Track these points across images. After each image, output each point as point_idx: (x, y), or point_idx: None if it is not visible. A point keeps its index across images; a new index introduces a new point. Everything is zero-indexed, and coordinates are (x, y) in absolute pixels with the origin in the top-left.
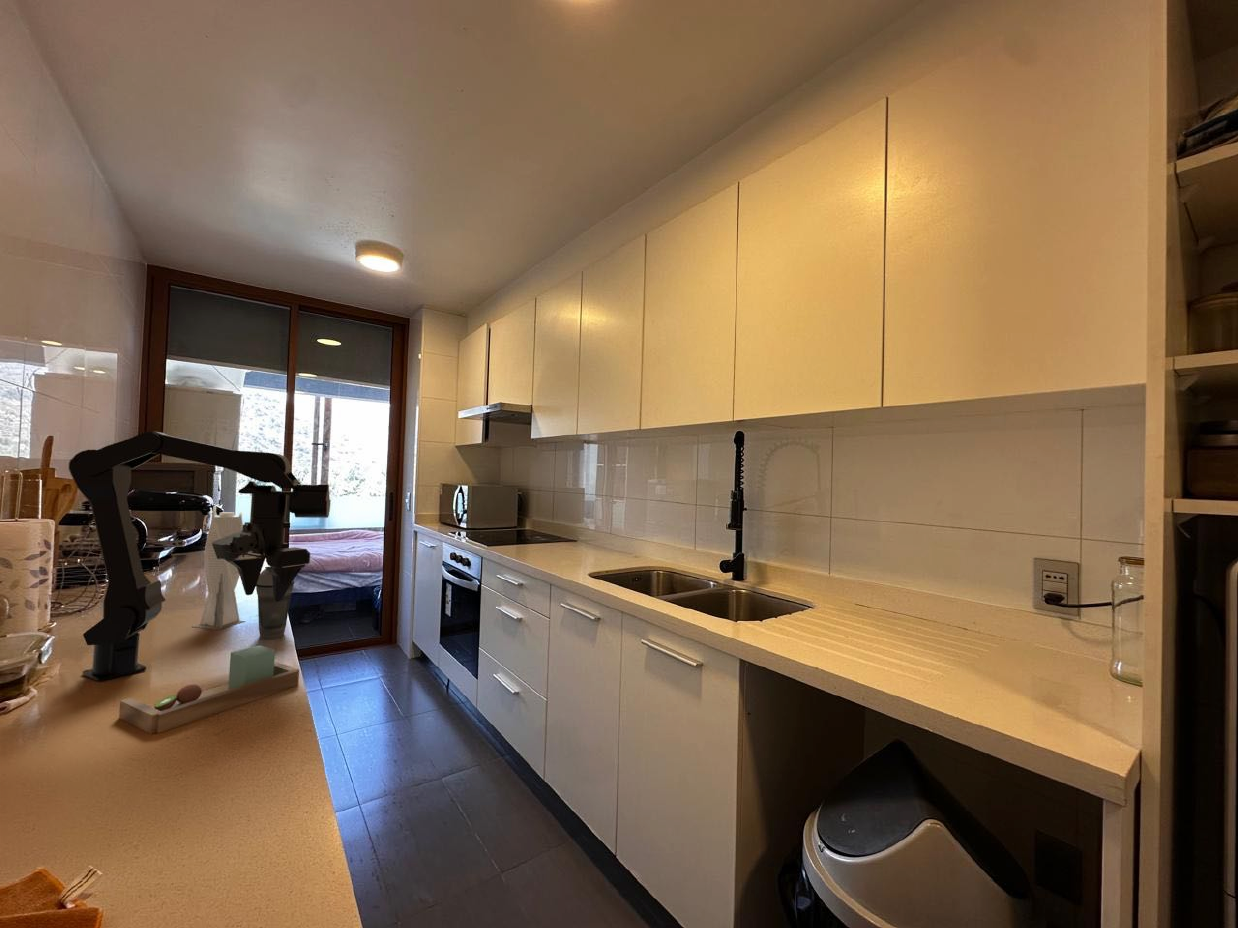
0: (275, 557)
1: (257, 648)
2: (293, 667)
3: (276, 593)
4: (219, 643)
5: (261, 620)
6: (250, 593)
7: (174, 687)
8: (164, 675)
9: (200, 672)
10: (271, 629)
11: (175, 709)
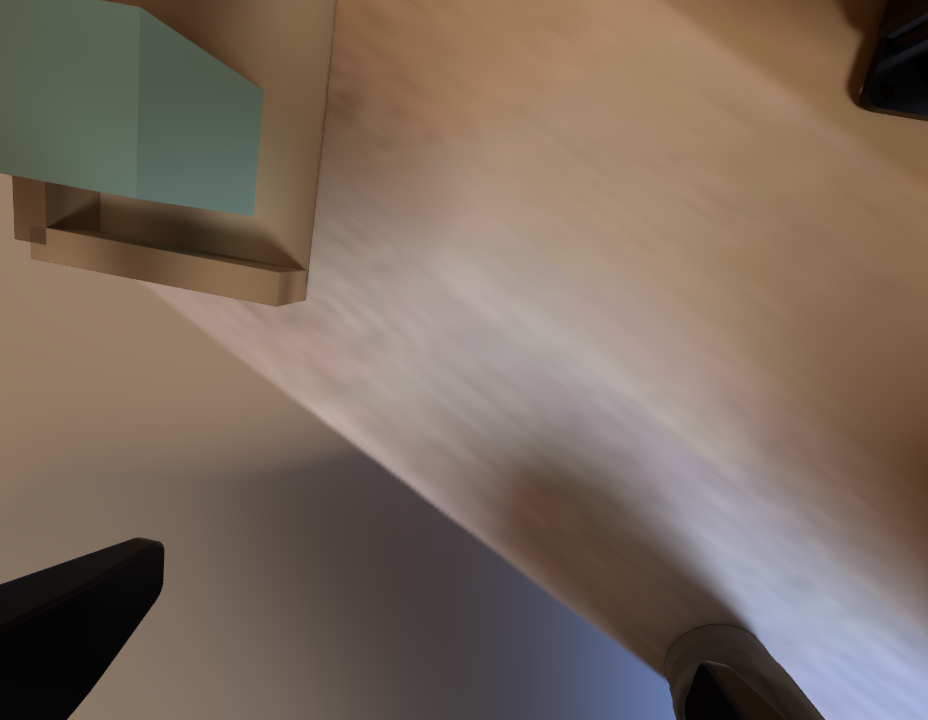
0: None
1: (83, 143)
2: (72, 266)
3: (10, 586)
4: (867, 516)
5: (778, 701)
6: (693, 701)
7: (505, 13)
8: (699, 100)
9: (576, 196)
10: None
11: None
